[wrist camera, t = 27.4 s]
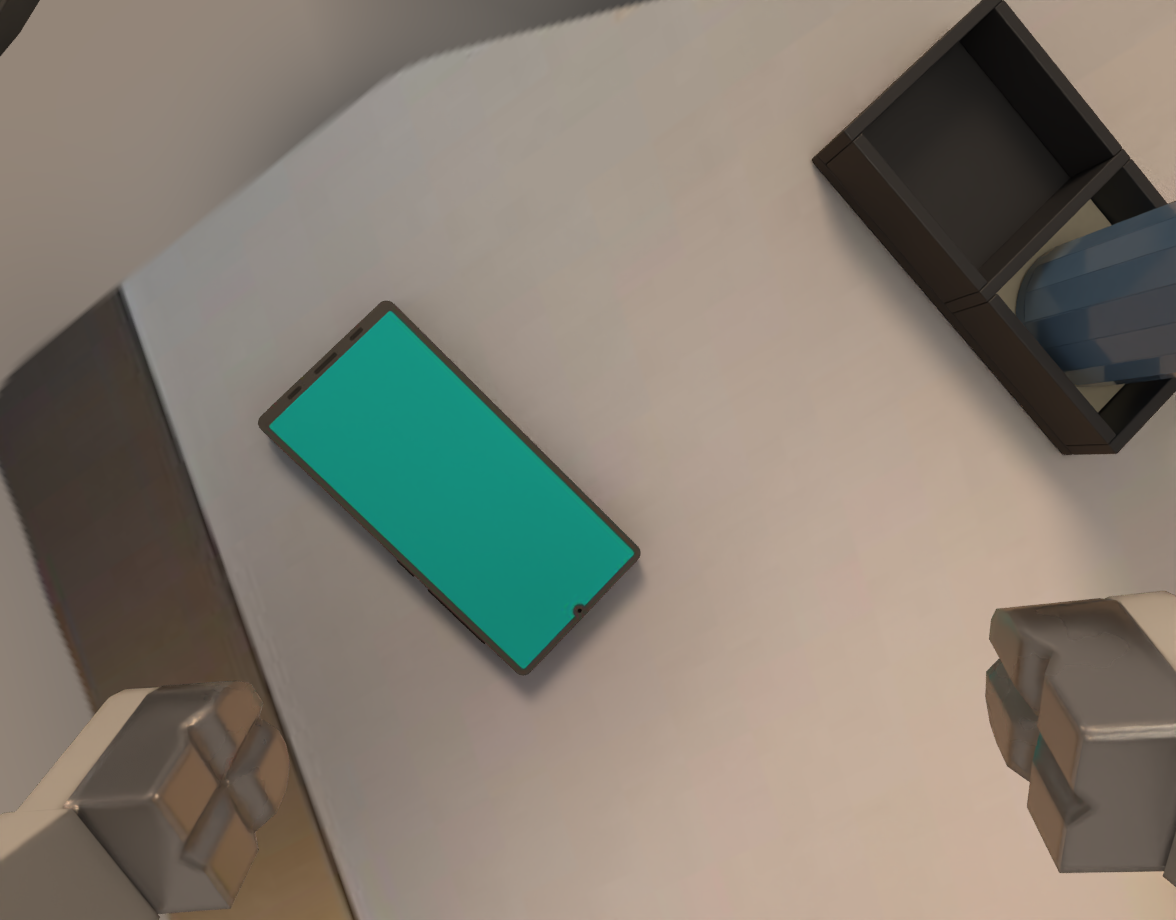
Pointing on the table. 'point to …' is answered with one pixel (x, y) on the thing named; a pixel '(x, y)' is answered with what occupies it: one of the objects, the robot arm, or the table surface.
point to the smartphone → (450, 487)
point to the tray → (996, 205)
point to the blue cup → (1108, 302)
